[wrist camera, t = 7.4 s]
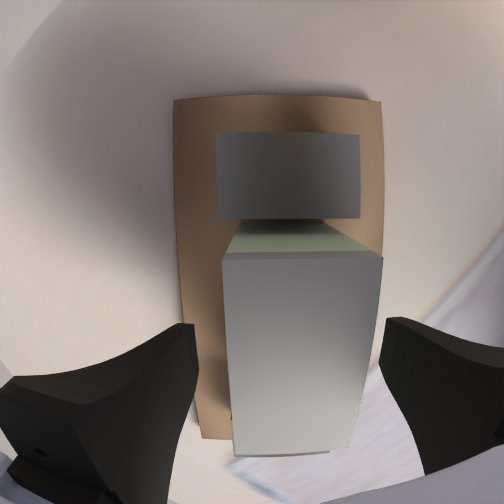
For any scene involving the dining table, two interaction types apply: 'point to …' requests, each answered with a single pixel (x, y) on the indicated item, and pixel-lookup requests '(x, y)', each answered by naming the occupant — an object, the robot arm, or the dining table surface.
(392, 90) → the dining table surface
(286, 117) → the post base
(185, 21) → the dining table surface
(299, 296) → the bracket block
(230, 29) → the dining table surface
